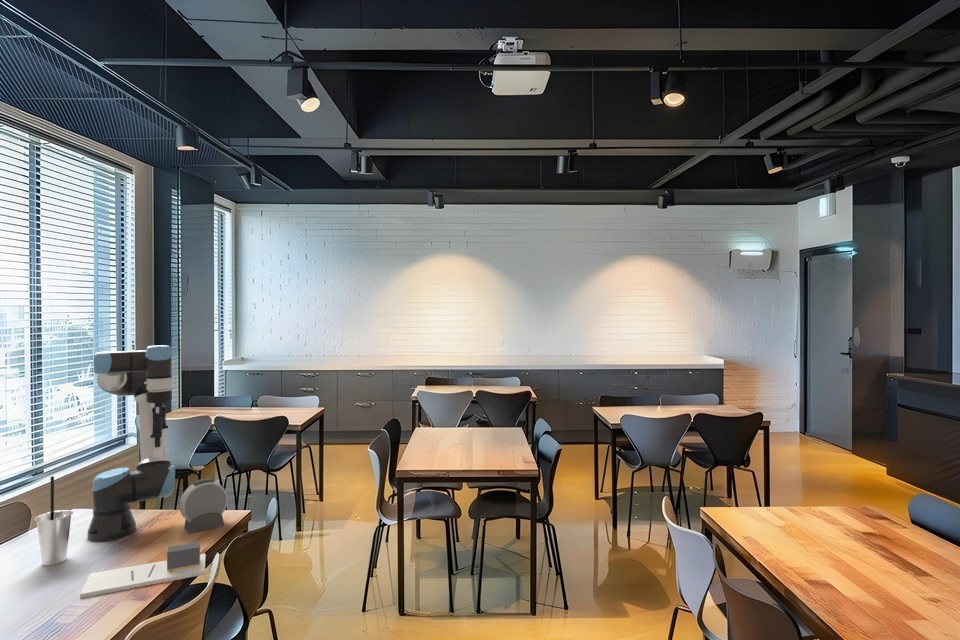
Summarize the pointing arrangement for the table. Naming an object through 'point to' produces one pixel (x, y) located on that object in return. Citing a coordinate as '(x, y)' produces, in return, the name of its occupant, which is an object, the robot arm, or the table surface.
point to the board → (137, 577)
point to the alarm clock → (203, 505)
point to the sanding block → (183, 556)
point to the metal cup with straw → (53, 532)
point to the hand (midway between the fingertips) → (159, 452)
